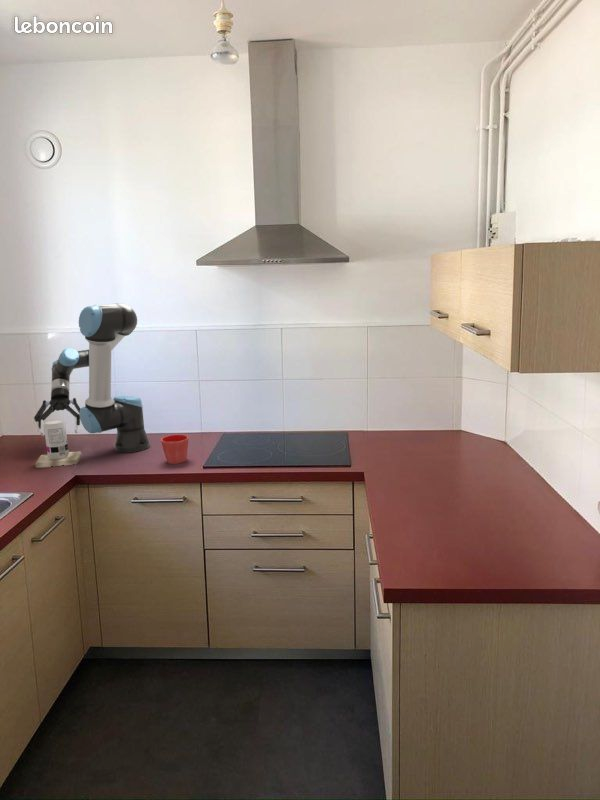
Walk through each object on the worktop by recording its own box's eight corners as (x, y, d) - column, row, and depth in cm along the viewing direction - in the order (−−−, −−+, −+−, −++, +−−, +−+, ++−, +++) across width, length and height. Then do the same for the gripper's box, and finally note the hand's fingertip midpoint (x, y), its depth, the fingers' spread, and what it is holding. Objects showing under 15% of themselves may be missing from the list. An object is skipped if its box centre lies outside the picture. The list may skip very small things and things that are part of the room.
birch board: (81, 455, 265) (80, 451, 264) (77, 464, 253) (76, 459, 253) (41, 459, 262) (41, 454, 261) (35, 468, 250) (35, 463, 250)
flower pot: (182, 465, 246) (180, 442, 244) (158, 464, 249) (156, 441, 247) (194, 457, 255) (192, 434, 253) (170, 456, 259) (168, 433, 257)
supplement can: (43, 459, 255) (39, 424, 252) (58, 453, 263) (53, 419, 259) (59, 460, 252) (54, 425, 249) (73, 454, 259) (69, 420, 256)
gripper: (91, 393, 280) (91, 434, 269) (32, 398, 275) (29, 440, 264) (88, 384, 274) (88, 425, 263) (28, 389, 269) (25, 431, 258)
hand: (59, 433), depth 263 cm, fingers open, 13 cm apart
